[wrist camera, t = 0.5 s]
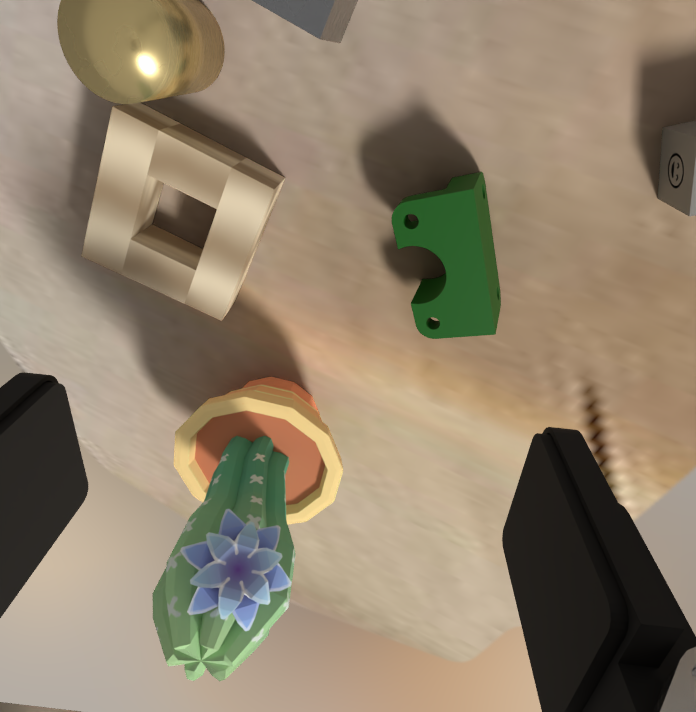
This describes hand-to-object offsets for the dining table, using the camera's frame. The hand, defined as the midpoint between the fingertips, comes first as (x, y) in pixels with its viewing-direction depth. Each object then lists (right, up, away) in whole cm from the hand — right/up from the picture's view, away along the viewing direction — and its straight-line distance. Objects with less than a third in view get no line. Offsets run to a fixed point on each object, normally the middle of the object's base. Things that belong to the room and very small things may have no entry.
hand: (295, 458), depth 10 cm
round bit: (-11, +24, +25) cm, 36 cm away
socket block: (-12, +14, +31) cm, 36 cm away
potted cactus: (-6, -4, +42) cm, 42 cm away
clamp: (+9, +11, +31) cm, 35 cm away
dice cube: (+26, +17, +26) cm, 41 cm away
